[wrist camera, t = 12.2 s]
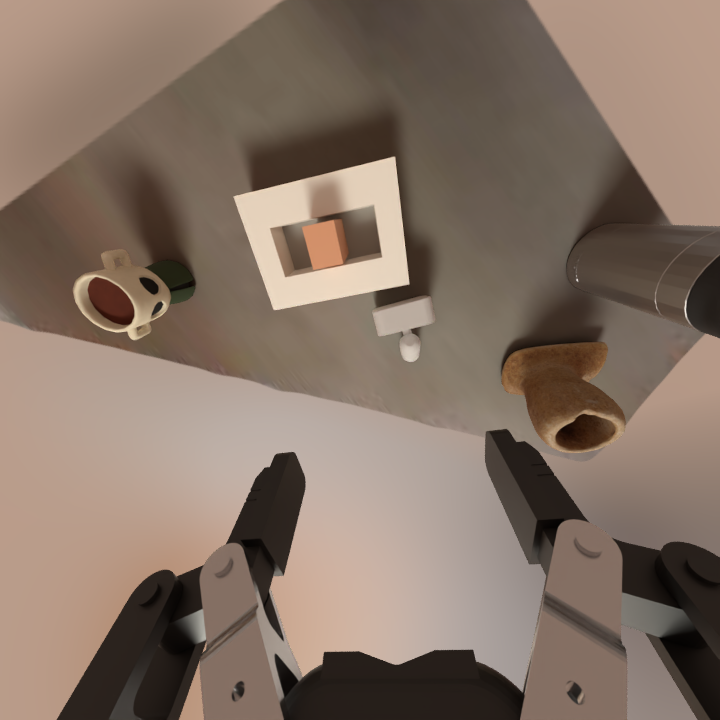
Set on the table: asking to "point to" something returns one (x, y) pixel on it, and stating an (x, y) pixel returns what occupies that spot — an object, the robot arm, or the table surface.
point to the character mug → (130, 293)
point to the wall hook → (405, 322)
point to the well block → (320, 204)
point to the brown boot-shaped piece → (565, 395)
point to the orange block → (326, 243)
